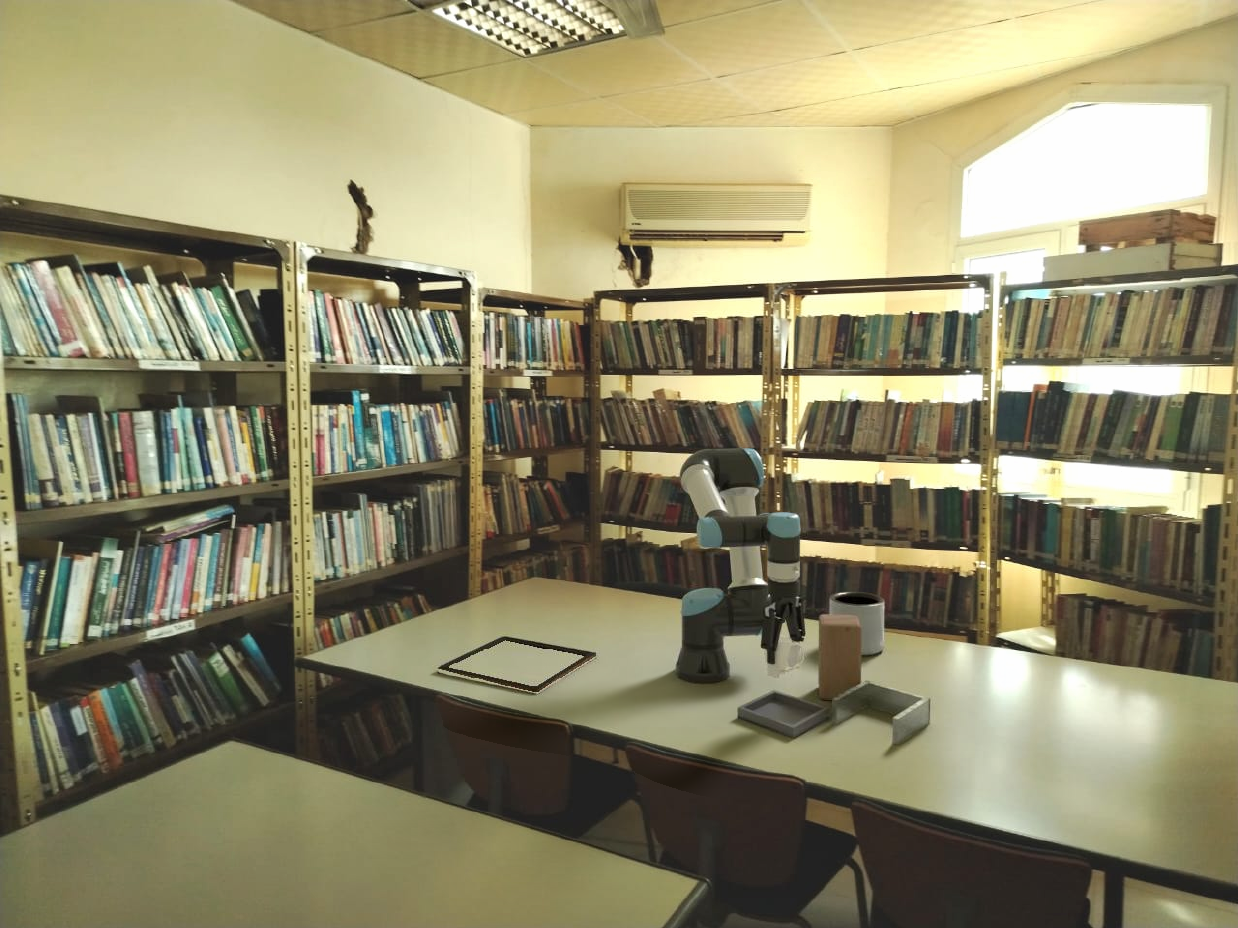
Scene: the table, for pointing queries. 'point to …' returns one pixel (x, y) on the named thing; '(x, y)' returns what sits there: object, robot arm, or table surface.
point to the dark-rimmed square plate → (586, 654)
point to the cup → (785, 654)
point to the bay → (885, 707)
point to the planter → (863, 617)
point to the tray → (783, 713)
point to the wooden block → (839, 654)
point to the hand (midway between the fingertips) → (783, 671)
